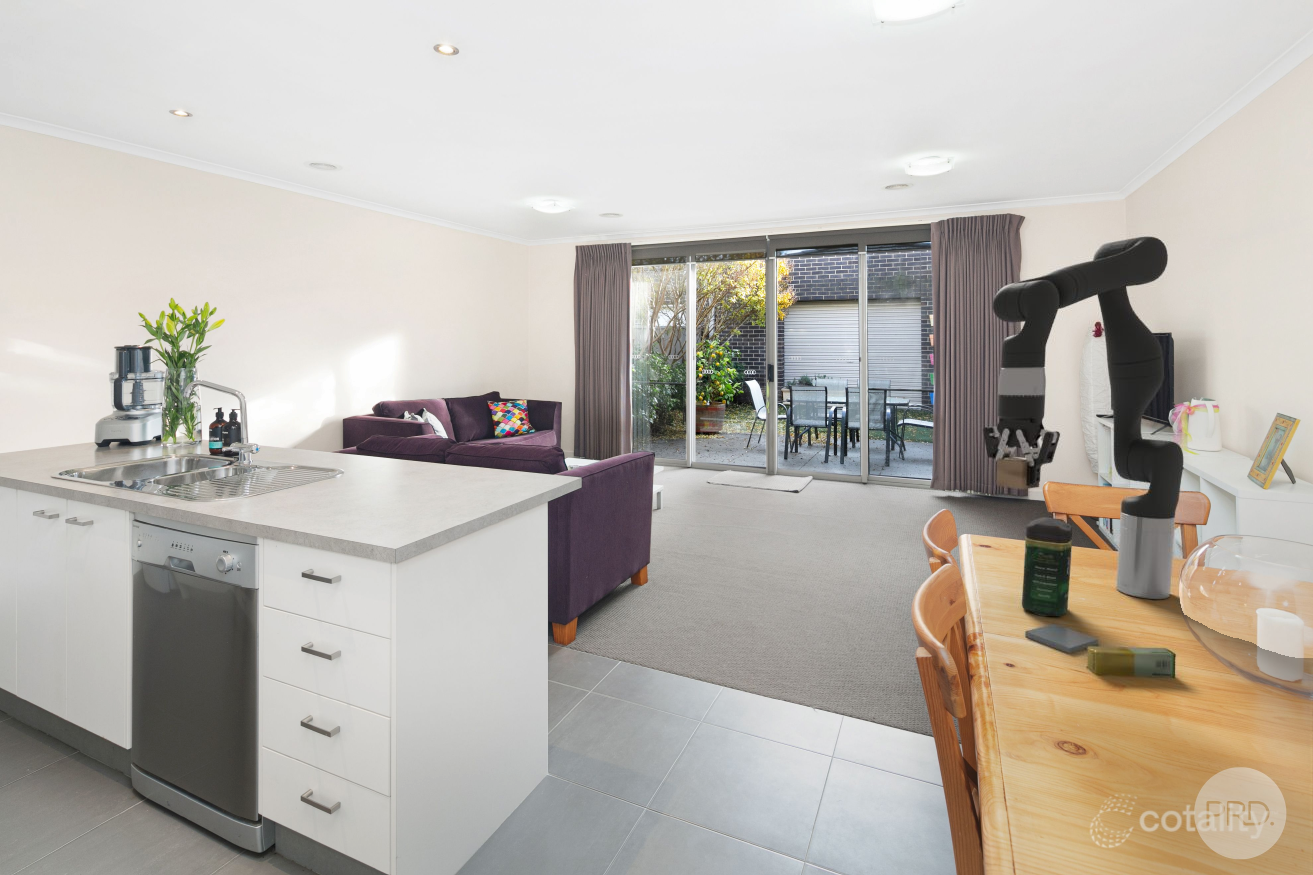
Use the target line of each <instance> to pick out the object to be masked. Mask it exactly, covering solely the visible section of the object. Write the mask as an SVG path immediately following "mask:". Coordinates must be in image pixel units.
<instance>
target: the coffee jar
mask: <svg viewBox="0 0 1313 875" xmlns="http://www.w3.org/2000/svg"><path fill="white" fill-rule="evenodd" d="M1025 530H1026V531H1025V542H1024V561H1023V562H1024V563H1023V577H1022V578H1023V580H1022V582H1023V583H1022V591H1021V592H1022V597H1021V606H1022V608H1023V610H1025V611H1028V612H1032V613H1034V614H1036V615H1039V616H1044V617H1048V616H1049V617H1051V616H1052V617H1062V616H1064V615H1066V613H1067V611H1068V605H1069V594H1070V593H1069V592H1070V578H1071V577H1070V576H1071V565H1072V564H1071V562H1072V548H1073V547H1072V546H1073V544H1072V542H1073V527H1072V526H1071V524H1070V523H1068V522H1066V521H1065V519H1063V518H1053V517H1047V516H1041V517H1039V518H1036V519H1034V520H1031V521H1030V522H1029V523H1027V525H1026V527H1025Z"/></svg>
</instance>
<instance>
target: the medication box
mask: <svg viewBox="0 0 1313 875" xmlns="http://www.w3.org/2000/svg"><path fill="white" fill-rule="evenodd" d="M1086 649H1087V661H1086V662H1087V666H1085V667H1086V669H1087V670H1089V672H1091V673H1092V674H1094V675H1096V676H1115V677H1137V678H1138V677H1142V678H1143V677H1144V678H1148V677H1149V678H1167V679H1168V678H1171V679H1175V678H1176V657H1177V654H1176V653H1175V652H1173V651H1171V650H1170V649H1168V648H1166V647H1138V646H1136V647H1133V646H1131V647H1130V646H1088V648H1086Z"/></svg>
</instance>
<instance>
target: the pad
mask: <svg viewBox="0 0 1313 875" xmlns="http://www.w3.org/2000/svg"><path fill="white" fill-rule="evenodd" d="M1024 633H1025V634H1024V637H1025V638H1027V639H1031V640H1033V641H1035V642H1037V643H1040V644H1043V645H1046V646H1049V647H1051V648H1054V649H1056V650H1059V651H1061V652H1064V653H1067V654H1070V655H1071V654H1072V653H1076V652H1080V651H1082V650H1086V649H1087V648H1088V646H1095V647H1097V646H1098V645H1099V638H1096V637H1093V636H1090V635H1088V634H1084V633H1082V632H1079V631H1076V630H1074V629H1073V630H1072V629H1071V628H1067V627H1064V626H1062V625H1059V624H1055V623H1050V624H1048V625H1044V626H1043V625H1042V626H1040V627H1036V628H1033V629H1029V630H1026V631H1025V632H1024Z"/></svg>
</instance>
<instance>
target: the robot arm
mask: <svg viewBox="0 0 1313 875" xmlns="http://www.w3.org/2000/svg"><path fill="white" fill-rule="evenodd" d="M1168 256H1169V255H1168V250H1167V246H1166V244H1165V243H1164V242H1163V241H1162V240H1161V239H1159V238H1157V237H1155V236H1139V237H1133V238H1128V239H1122V240H1117V241H1112V242H1107V243H1104V244H1101V245H1100V246H1099V247H1098V248H1097V249H1096V251H1095V253H1094V255H1093V258H1092V259H1093V260H1090V261H1084V262H1080V263H1076V264H1071V265H1069V266H1065V267H1062V268H1059V269H1056V270H1055V271H1054V270H1053V271H1051V272H1049V273H1046V274H1045V275H1044V274H1043V275H1041V276H1038V277H1034V278H1029V279H1028V278H1027V279H1025V280H1021V281H1016V282H1013V283H1009V284H1007V285H1004V286H1003V287H1002V288H1000V290H999V291H997V292H996V294H995V296H994V298H993V300H992V301H993V302H992V310H993V313H994V315H995V316H996V318H997V319H999V320H1001V321H1003V322H1006V323H1013V324H1014V323H1023V322H1024V324H1023V326H1022V329H1021V330H1020V331H1019V332H1018V333H1016V334H1013V335H1011V336H1007V337H1006V338H1004V339H1003V341H1002V343H1001V355H1000V356H1001V360H1000V373H999V378H998V394H997V397H998V398H997V417H998V418H999V419H998V422H997V424H996V425H995V426H985V427H983V429H982V433H983V436H984V442H985V449H986V454H987V457H988V458H989V459H994V460H995V462H997V459H1003V458H1011V457H1012V454H1013V453H1014V452H1015V450H1016V449H1017V448H1018V449H1021V452H1022V454H1023V455H1024V456H1025V458H1026V459H1027V463H1028V465H1029V466H1027V486H1030V487H1033V486H1037V484H1038V483H1039V484H1040V481H1041V469H1042V466H1043V465H1046V464H1051V463H1053V462H1054V461H1053V460H1054V457H1055V453H1056V452H1057V451H1056V450H1057V446H1058V444H1059V441H1060V436H1061V433H1060V432H1059V431H1058V430H1057V431H1051V430H1049V429H1045V426H1044V424H1043V419H1044V417H1045V410H1046V409H1045V407H1046V406H1045V404H1046V384H1047V383H1046V382H1047V380H1046V379H1047V378H1046V368H1045V367H1046V348H1047V344H1048V340H1049V338H1050V334H1051V331H1052V328H1053V326H1054V323H1055V320H1056V317H1057V314H1058V311H1059V310H1061V309H1064V308H1066V307H1069V306H1071V305H1074V304H1077V303H1079V302H1081V301H1083V300H1084V301H1085V300H1087V299H1089V298H1092V297H1095V296H1097V299H1098V303H1099V307H1100V312H1101V318H1102V324H1103V331H1104V338H1105V347H1106V348H1105V349H1106V361H1107V362H1106V363H1107V373H1108V380H1109V385H1110V392H1111V393H1110V394H1111V402H1112V412H1113V413H1112V414H1113V415H1112V416H1113V461H1114V467H1115V470H1116V472H1117V475H1118V476H1119V477H1120V478H1122V479H1123V480H1126V481H1127V480H1128V481H1134V482H1140V483H1146V484H1149V487H1148V490H1147V492H1146V493H1144V494H1141V495H1135V496H1129V497H1125V498H1124V499H1123V500H1122V501H1121V503H1120V504H1121V505H1120V521H1119V538H1118V540H1119V541H1118V553H1117V555H1118V557H1117V569H1116V570H1117V571H1116V586H1115V587H1116V588H1115V589H1116V590H1118V591H1119V592H1121V593H1124V594H1126V595H1130V596H1133V597H1138V598H1143V599H1150V600H1165V599H1168V598H1170V593H1171V586H1172V572H1173V571H1172V569H1173V560H1174V557H1173V556H1174V555H1173V554H1174V550H1173V549H1174V536H1175V521H1176V520H1175V519H1176V512H1177V507H1178V503H1179V500H1180V492H1181V484H1182V478H1183V471H1184V470H1183V469H1184V453H1183V449H1182V447H1181V446H1180V445H1179V444H1178V442H1175V441H1171V440H1164V439H1163V440H1161V439H1150V438H1149V439H1148V438H1143V436H1142V419H1143V415H1144V413H1145V411H1146V410H1147V408H1148V406H1149V404H1150V403H1151V402H1152V401H1153V400H1154V398H1155V396H1156V394H1157V393H1158V392H1159V390H1160V389H1161V386H1162V385H1163V381H1164V379H1165V369H1164V368H1165V366H1164V356H1163V350H1162V349H1163V347H1162V345H1161V343H1160V341H1159V340H1158V338H1157V336H1156V335H1155V334H1154V333H1153V331H1151V330H1150V329H1149V328H1148V326H1147V325H1146V324H1145V323H1144V322H1143V321H1142V320H1141V318H1139V316H1138V315H1137V313H1135V311H1134V309H1133V307H1132V305H1131V302H1130V298H1129V294H1128V289H1127V287H1132V286H1133V287H1134V286H1141V285H1145V284H1149V283H1152V282H1154V281H1156V280H1158V279H1159V278H1160V277H1161V276H1162V275H1163V274H1164V272H1165V270H1166V269H1167V265H1168ZM999 436H1000V437H1001V439H1000V437H999ZM1039 439H1040V440H1041V442H1042V443H1041V445H1040V442H1039Z"/></svg>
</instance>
